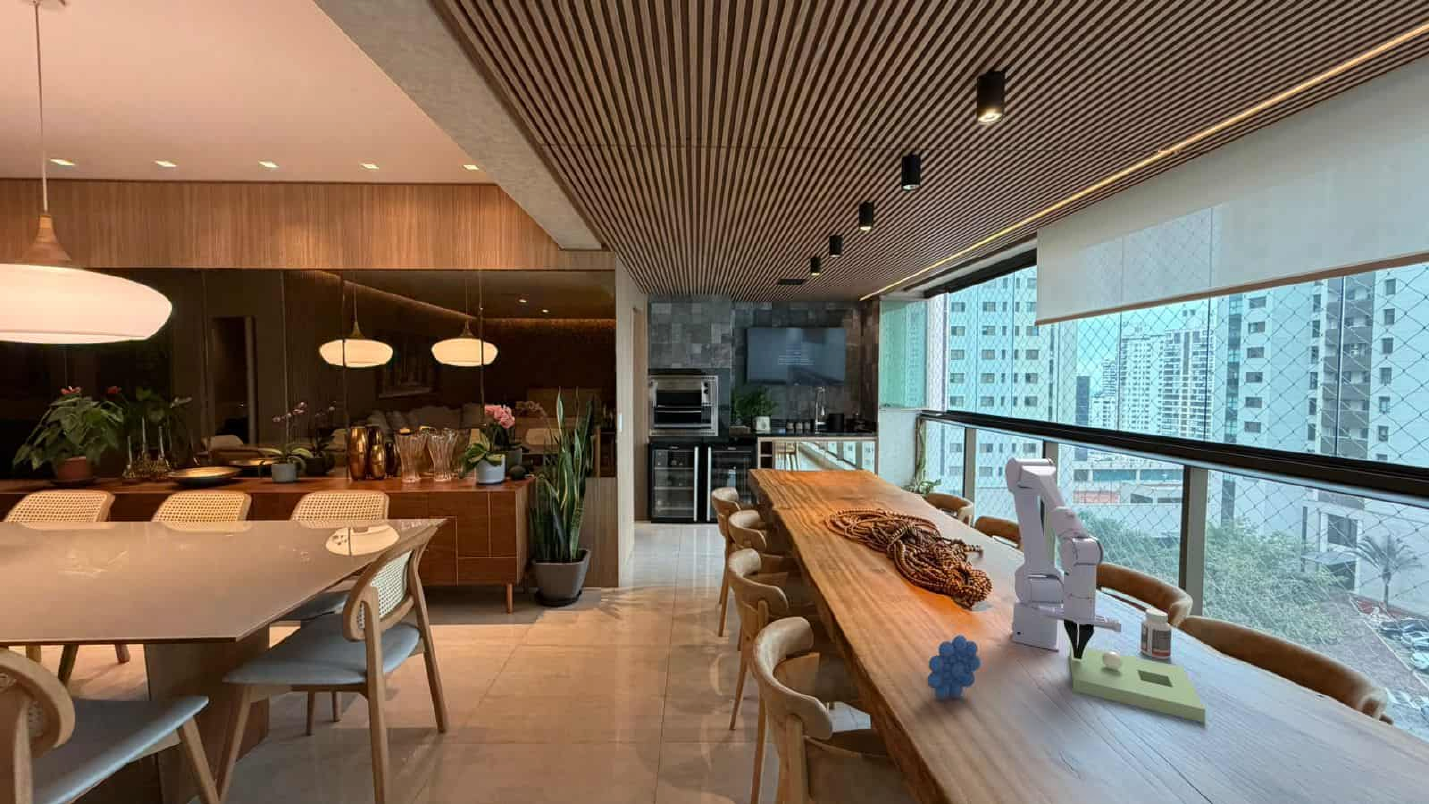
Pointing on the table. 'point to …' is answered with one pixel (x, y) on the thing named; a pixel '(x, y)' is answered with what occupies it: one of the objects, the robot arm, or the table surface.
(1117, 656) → the ball
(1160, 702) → the putting mat
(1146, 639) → the pill bottle
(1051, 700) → the table surface
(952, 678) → the grapes
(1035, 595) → the robot arm
